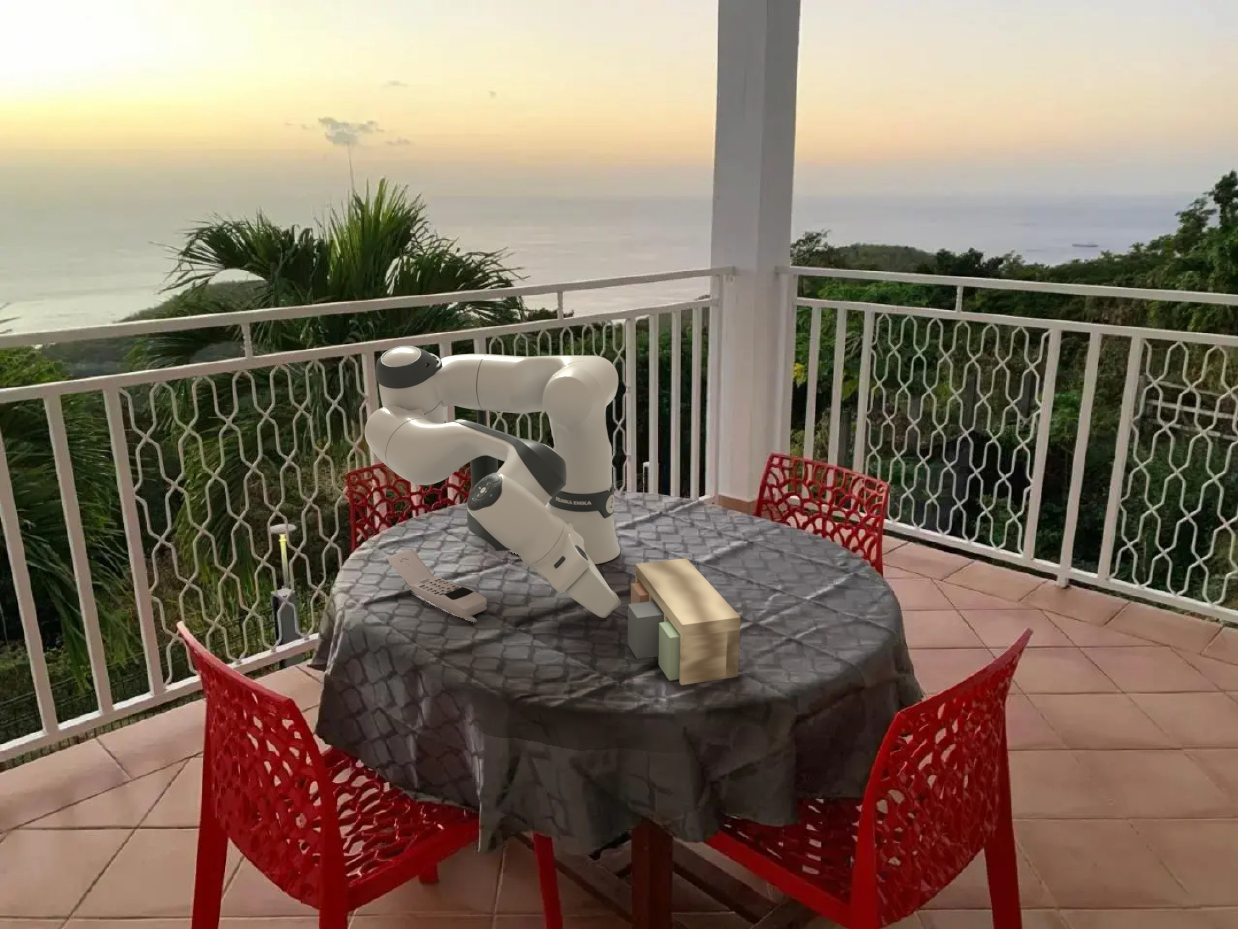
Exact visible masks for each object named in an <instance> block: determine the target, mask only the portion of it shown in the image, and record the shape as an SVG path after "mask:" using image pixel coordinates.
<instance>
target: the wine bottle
mask: <svg viewBox="0 0 1238 929" xmlns="http://www.w3.org/2000/svg"><path fill="white" fill-rule="evenodd" d="M487 418H488V416H487V411H484V410H476V419H477V422H476V423H478V424H481V425H484V426H487V427H488V419H487ZM498 461H499V459H496V458H494V457H491V456H488V455H484V456H480V457H477V458H475V459H473V460H471V461H470V462H469V463H470V465H469V466H470V481H471V483H470V484H471V486H470V487H471V490H472V489H473V488H474V486H475V485H476V484H477V483H478V482H479V481H480V480H481V479H483V478H484V477H486V476H487V475H489V474H492V473H497V471H498V470H499V462H498Z"/></svg>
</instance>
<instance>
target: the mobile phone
mask: <svg viewBox="0 0 1238 929" xmlns="http://www.w3.org/2000/svg"><path fill="white" fill-rule="evenodd" d="M385 558H386V559H387V562H388V563H389V564H390V565H391V566H392V568H393V569H394V570H395V571H396V572H397V574H398V575H399V576H400V577H401V578H402V579H403V581H404V582H405V583H406V584H407V585H408V586H409V588H410V591H413V592H414V593H415V594H417V595H419V596H421V597H422V598H424V599H426V600H427V601H430V602H431V603H433V604H435V605H436V606H438V607H441V608H443V609H445V610H446V611H448V612H450V613H453V614H455V615H457V616H459V617H460V618H459V619H462V618H464V619H467V620H470V621H471V622H470V623H472V622H473V623H472V624H475V623H474V622H476V621H477V622H478V620H477V619H476V618H475V617H474V616H475V615H477V614H479V613H482V612H485V611H487V609H488V602H487V597H485V596H483V595H481V594H480V593H478V592H477V591H475V590H472V589H471V588H469V587H466V586H464V585H463V586H461V585H460V584H456V583H454V582H451V581H449V580H446V579H444V578H442V577H439V576H438V575H434V574H433V572H432V571H431V570H430V569H429V567H428V566H427V565H426V564H425V562H424V561H423V560H422V558H421V557H420V555H419V554H418V553H417V552H416V551H415V550H414V549H413V548H410V549H406V550H403V551H399V552H397V553H394V554H391V555H390V556H387V557H385ZM464 619H463V620H464ZM477 622H476V623H477Z"/></svg>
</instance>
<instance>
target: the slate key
mask: <svg viewBox="0 0 1238 929" xmlns="http://www.w3.org/2000/svg"><path fill="white" fill-rule="evenodd" d="M662 622H664V612H663V611H662V610H661V608H660V607H659V606H658V604H657V603H656V602H655V601H650V602H642V603H634V604H631V603H628V604H627V645H628V647H629V648H630V650H631V652H632V654H633V655H634V656H635V658H636V659H637V660H640V659H648V658H652V657H653V658H654V657H659V623H662Z"/></svg>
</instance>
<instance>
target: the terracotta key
mask: <svg viewBox="0 0 1238 929" xmlns="http://www.w3.org/2000/svg"><path fill="white" fill-rule="evenodd" d="M642 602H649V592H648V591H647V590H646V588H645V587H644V586H643V584H642V583H641V582H639V583H635V582H633V583H630V604H634V603H642Z"/></svg>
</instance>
